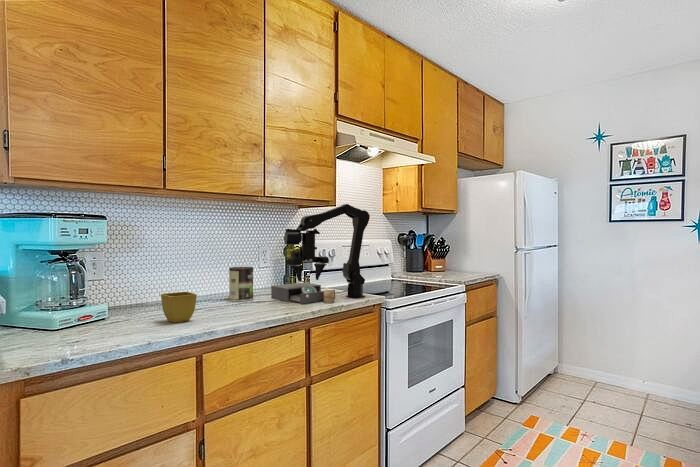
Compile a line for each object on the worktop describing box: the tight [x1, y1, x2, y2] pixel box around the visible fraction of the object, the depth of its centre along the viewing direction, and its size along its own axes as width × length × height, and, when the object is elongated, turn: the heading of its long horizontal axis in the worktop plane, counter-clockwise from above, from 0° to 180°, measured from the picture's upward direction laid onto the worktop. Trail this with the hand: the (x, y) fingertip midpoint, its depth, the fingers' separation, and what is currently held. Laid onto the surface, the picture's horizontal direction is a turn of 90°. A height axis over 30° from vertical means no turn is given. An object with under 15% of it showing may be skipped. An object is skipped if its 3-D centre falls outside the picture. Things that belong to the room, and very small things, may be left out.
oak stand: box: [323, 289, 335, 304], centre depth 167 cm, size 4×4×5 cm
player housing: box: [270, 282, 322, 303], centre depth 179 cm, size 18×14×6 cm
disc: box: [301, 285, 317, 294], centre depth 173 cm, size 7×7×2 cm
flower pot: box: [160, 291, 198, 324], centre depth 132 cm, size 9×9×9 cm
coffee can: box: [228, 266, 254, 303], centre depth 174 cm, size 10×10×14 cm
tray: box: [289, 289, 336, 305], centre depth 172 cm, size 18×13×4 cm
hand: (308, 280), depth 172 cm, fingers open, 9 cm apart
